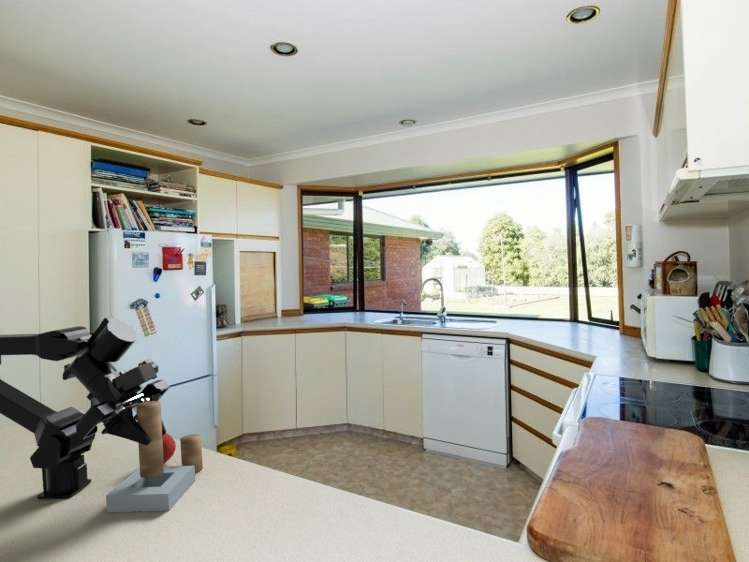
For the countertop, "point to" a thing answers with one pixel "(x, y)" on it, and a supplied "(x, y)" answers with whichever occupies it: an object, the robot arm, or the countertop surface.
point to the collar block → (151, 490)
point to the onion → (168, 447)
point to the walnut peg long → (152, 426)
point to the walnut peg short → (191, 451)
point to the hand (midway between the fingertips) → (157, 438)
